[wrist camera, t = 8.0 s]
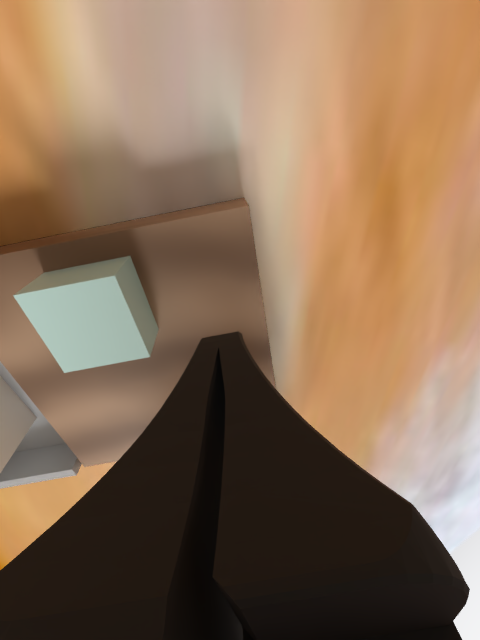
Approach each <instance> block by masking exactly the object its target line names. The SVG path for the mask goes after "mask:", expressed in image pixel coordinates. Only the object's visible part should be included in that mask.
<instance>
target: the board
mask: <svg viewBox="0 0 480 640" xmlns="http://www.w3.org/2000/svg"><path fill="white" fill-rule="evenodd" d="M126 256H130V257H131V259H132V262H133V264H134V267H135V269H136V272H137V275H138V277H139V280H140V282H141V285H142V287H143V290H144V293H145V295H146V298H147V300H148V303H149V305H150V308H151V311H152V313H153V316H154V318H155V321H156V323H157V326H158V328H159V330H158V333H157V336H156V340H155V343H154V346H153V349H152V352H151V356H150V357H147V358H142V359H137V360H131V361H126V362H120V363H115V364H110V365H104V366H99V367H94V368H88V369H83V370H77V371H72V372H67V373H64V372H63V370H62V369H61V367H60V366H59V364H58V362H57V361H56V359H55V358H54V356H53V355H52V353H51V352H50V350H49V349H48V347H47V346H46V344H45V343H44V341H43V340H42V338H41V337H40V335H39V334H38V332H37V331H36V329H35V328H34V326H33V325H32V323H31V322H30V320H29V319H28V317H27V316H26V314H25V313H24V311H23V310H22V308H21V307H20V305H19V304H18V302H17V301H16V299H15V298H14V296H13V295H14V294H16V293H17V292H18V291H20V290H21V289H22V288H24V287H25V286H26V285H28V284H29V283H31V282H32V281H33V280H35V279H36V278H37V277H39V276H40V275H41V274H43V273H45V272H50V271H55V270H60V269H65V268H70V267H75V266H80V265H85V264H91V263H96V262H101V261H106V260H111V259H116V258H121V257H126ZM237 331H239V332H240V333H242V336H243V339H244V342H245V344H246V346H247V348H248V350H249V352H250V354H251V356H252V357H253V359H254V360H255V362H256V363H257V365H258V366H259V368H260V369H261V371H262V372H263V373H264V375H265V376H266V377H267V379H268V380H269V381H270V383H271V384H272V385H273V386H274V388H275V389H276V386H275V379H274V373H273V366H272V359H271V353H270V346H269V339H268V333H267V326H266V319H265V312H264V306H263V299H262V292H261V286H260V279H259V272H258V265H257V259H256V252H255V245H254V239H253V232H252V225H251V219H250V212H249V205H248V204H247V202H246V200H245V198H240V199H235V200H230V201H225V202H220V203H215V204H210V205H205V206H200V207H195V208H190V209H185V210H180V211H175V212H170V213H165V214H160V215H155V216H150V217H145V218H140V219H135V220H130V221H125V222H120V223H115V224H110V225H105V226H100V227H95V228H90V229H85V230H80V231H75V232H70V233H65V234H60V235H55V236H50V237H45V238H40V239H35V240H30V241H25V242H20V243H15V244H10V245H5V246H0V362H1V363H2V364H3V365H4V367H5V368H6V369H7V370H8V372H9V373H10V374H11V375H12V377H13V378H14V379H15V380H16V382H17V383H18V384H19V385H20V387H21V388H22V389H23V390H24V392H25V393H26V394H27V395H28V397H29V398H30V399H31V400H32V402H33V403H34V404H35V405H36V407H37V408H38V409H39V410H40V412H41V413H42V414H43V415H44V417H45V418H46V419H47V420H48V422H49V423H50V424H51V425H52V427H53V428H54V429H55V430H56V432H57V433H58V434H59V435H60V437H61V438H62V439H63V440H64V442H65V443H66V444H67V445H68V447H69V448H70V449H71V450H72V452H73V453H74V454H75V455H76V457H77V458H78V459H79V461H80V462H81V463H82V464H83V466H84V467H87V466H93V465H99V464H104V463H110V462H116V461H118V460H119V459H120V458H121V457H122V456H123V454H124V453H125V452H126V451H127V450H128V449H129V448H130V447H131V446H132V444H133V443H134V442H135V441H136V440H137V439H138V437H139V436H140V435H141V434H142V432H143V431H144V430H145V429H146V427H147V426H148V425H149V423H150V422H151V421H152V419H153V418H154V417H155V415H156V414H157V413H158V411H159V410H160V408H161V407H162V406H163V404H164V402H165V401H166V399H167V398H168V396H169V395H170V393H171V392H172V390H173V389H174V387H175V386H176V384H177V382H178V381H179V379H180V377H181V376H182V374H183V372H184V370H185V369H186V367H187V365H188V363H189V361H190V359H191V358H192V356H193V354H194V352H195V350H196V348H197V346H198V344H199V342H200V340H201V339H202V338H205V337H210V336H216V335H221V334H226V333H232V332H237Z"/></svg>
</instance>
